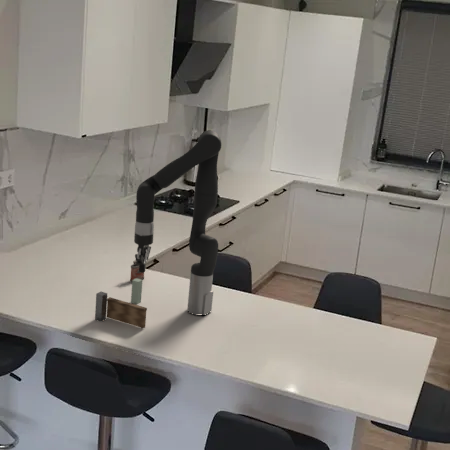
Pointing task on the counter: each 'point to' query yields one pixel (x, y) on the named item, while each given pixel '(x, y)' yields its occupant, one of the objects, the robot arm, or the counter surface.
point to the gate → (126, 312)
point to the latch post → (136, 291)
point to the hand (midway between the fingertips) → (142, 271)
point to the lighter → (136, 272)
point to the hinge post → (101, 306)
